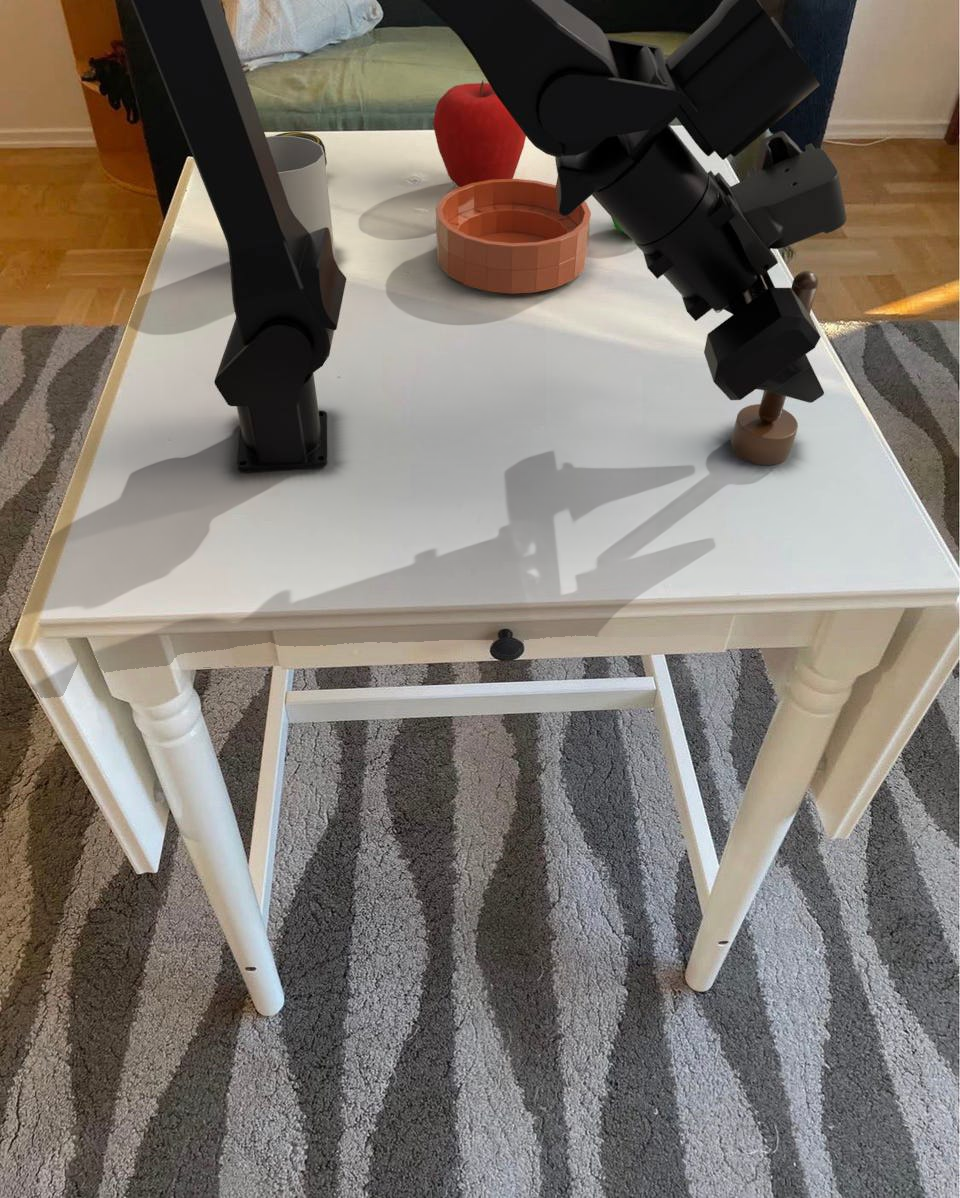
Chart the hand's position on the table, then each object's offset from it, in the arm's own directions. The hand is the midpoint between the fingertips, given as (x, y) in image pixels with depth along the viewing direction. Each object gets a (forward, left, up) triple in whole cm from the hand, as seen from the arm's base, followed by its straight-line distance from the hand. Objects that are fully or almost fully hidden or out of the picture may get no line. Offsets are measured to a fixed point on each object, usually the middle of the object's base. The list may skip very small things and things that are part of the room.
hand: (802, 364), depth 67 cm
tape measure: (+52, +37, -7) cm, 64 cm away
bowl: (+31, +16, -7) cm, 36 cm away
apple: (+48, +17, -7) cm, 52 cm away
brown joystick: (0, +1, -7) cm, 7 cm away
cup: (+33, +37, -7) cm, 50 cm away
